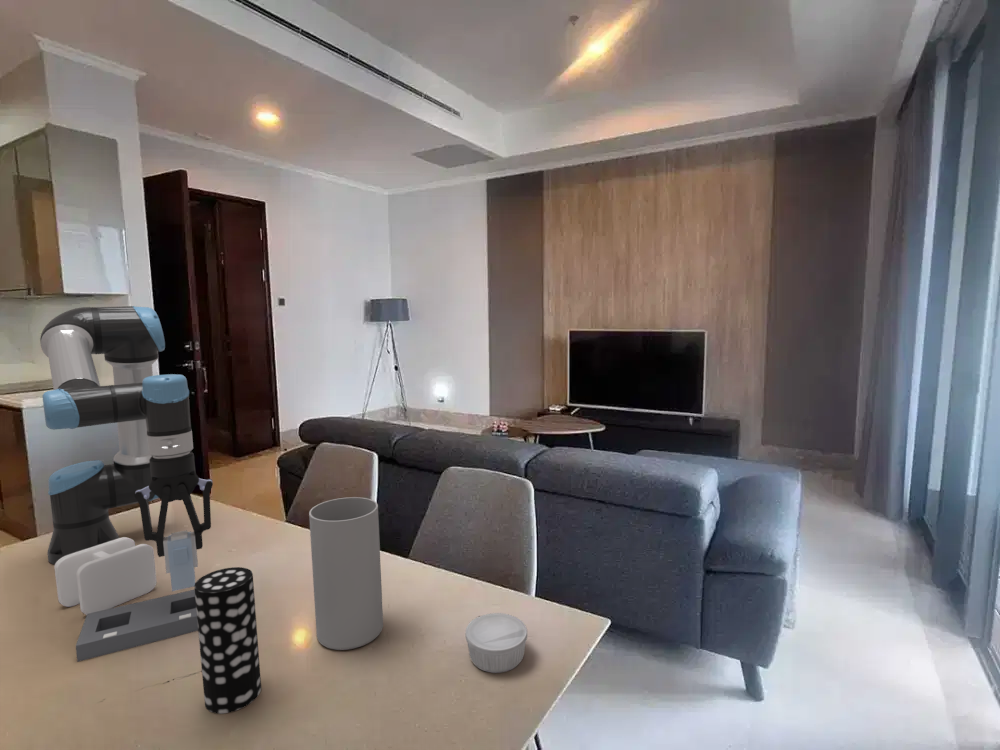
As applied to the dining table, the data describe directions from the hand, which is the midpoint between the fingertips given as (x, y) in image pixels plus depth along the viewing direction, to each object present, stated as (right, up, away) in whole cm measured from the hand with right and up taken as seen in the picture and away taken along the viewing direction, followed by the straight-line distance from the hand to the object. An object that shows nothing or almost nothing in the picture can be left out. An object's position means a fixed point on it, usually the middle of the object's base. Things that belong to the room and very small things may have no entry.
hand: (182, 567), depth 110 cm
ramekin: (+63, -12, -12) cm, 66 cm away
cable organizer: (-22, -11, +10) cm, 26 cm away
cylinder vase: (+35, -12, -3) cm, 37 cm away
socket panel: (-5, -12, -1) cm, 13 cm away
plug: (0, -4, 0) cm, 4 cm away
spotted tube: (+20, -14, -20) cm, 32 cm away
